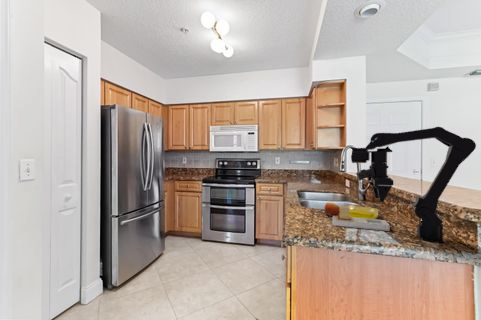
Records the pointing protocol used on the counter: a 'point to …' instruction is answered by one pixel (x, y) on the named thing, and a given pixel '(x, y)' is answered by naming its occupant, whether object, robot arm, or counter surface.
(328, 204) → the fruit
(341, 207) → the brass peg
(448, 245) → the counter surface
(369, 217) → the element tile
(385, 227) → the rail bar
